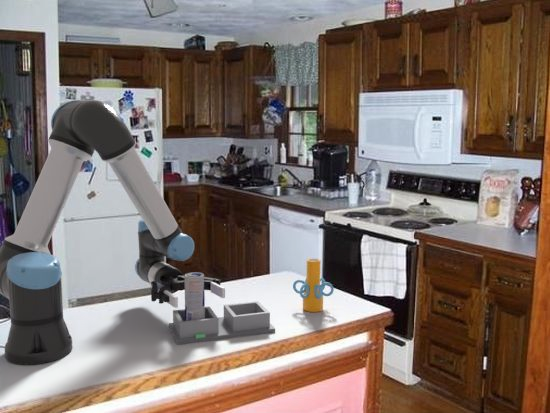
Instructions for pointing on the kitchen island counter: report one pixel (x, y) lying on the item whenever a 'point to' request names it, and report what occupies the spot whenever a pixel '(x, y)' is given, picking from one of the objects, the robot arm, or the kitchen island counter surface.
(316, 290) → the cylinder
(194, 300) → the beverage can
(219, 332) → the double square planter tray
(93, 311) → the kitchen island counter surface
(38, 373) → the kitchen island counter surface
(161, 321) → the kitchen island counter surface
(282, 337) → the kitchen island counter surface
